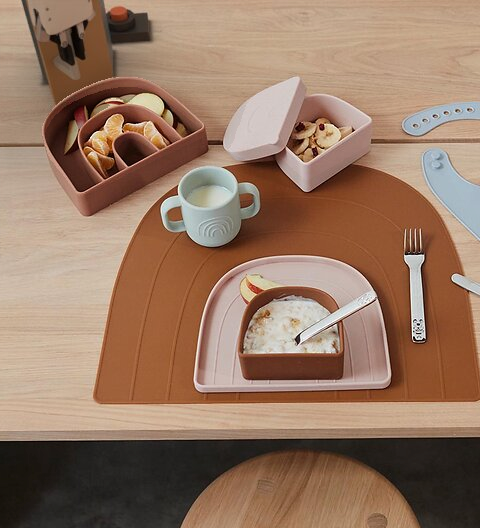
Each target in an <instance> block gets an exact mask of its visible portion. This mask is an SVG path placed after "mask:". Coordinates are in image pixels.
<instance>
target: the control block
mask: <svg viewBox="0 0 480 528" xmlns="http://www.w3.org/2000/svg"><path fill="white" fill-rule="evenodd" d="M126 10H127V15H128V18H127V20H124V21H120V22H116V21H112V19H111V15H110V10H108V11H106V16H107V21H108V26H109V32H110V37H111V42H112V44H121V43H122V44H123V43H135V42H150V40H151V38H150V22H149V14H148V12H135V13H134V12H133V11H132V10H131V9H127V8H126Z"/></svg>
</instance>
